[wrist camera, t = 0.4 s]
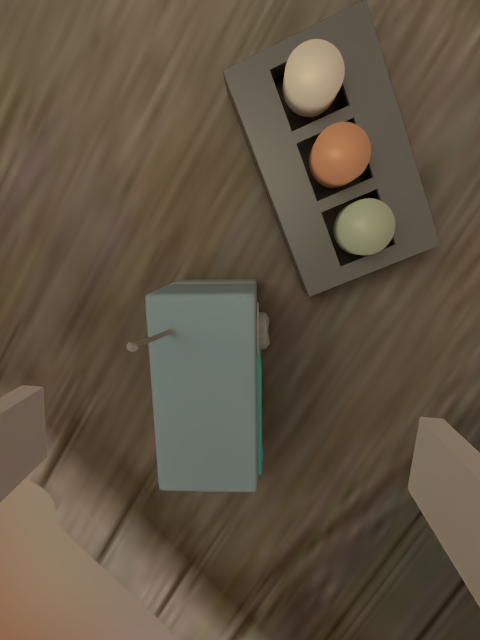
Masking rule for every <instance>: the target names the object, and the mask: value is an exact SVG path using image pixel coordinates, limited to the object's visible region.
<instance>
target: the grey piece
mask: <svg viewBox="0 0 480 640" xmlns="http://www.w3.org/2000/svg"><path fill="white" fill-rule="evenodd" d="M311 39H322V40H326V41H328V42H330V43H332V44H333V45H334V46H335V47H336V48H337V49H338V50H339V52H340V53H341V55H342V58H343V61H344V66H345V74H344V80H343V83H342V85H341V86H342V89H343V92H344V95H345V98H346V101H347V104H348V106H346V107H344V108H342V109H340V110H338V111H336V112H333V113H331V114H329V115H327V116H325V117H323V118H320V119H318V120H316V121H314V122H312V123H310V124H307V125H305V126H303V127H301V128H299V129H297V130H294V131H292V130H291V128H290V125H289V122H288V119H287V116H286V114H285V111H284V108H283V105H282V103H281V100H280V97H279V94H278V92H277V89H276V86H275V83H274V80H273V79H274V78H276V77H279V76H281V75H283V74H284V73H285V67H286V63H287V60H288V58H289V56H290V54H291V53H292V52H293V50H294V49H295V48H296V47H297V46H298V45H300V44H301V43H303V42H305V41H307V40H311ZM223 75H224V80H225V85H226V89H227V93H228V95H229V98H230V100H231V103H232V106H233V108H234V111H235V113H236V116H237V119H238V121H239V124H240V126H241V129H242V132H243V134H244V137H245V140H246V142H247V145H248V147H249V150H250V153H251V155H252V158H253V160H254V163H255V166H256V168H257V171H258V173H259V176H260V179H261V181H262V184H263V186H264V189H265V192H266V194H267V197H268V199H269V202H270V205H271V207H272V210H273V212H274V215H275V218H276V220H277V223H278V225H279V228H280V231H281V233H282V236H283V238H284V241H285V244H286V246H287V249H288V251H289V254H290V257H291V259H292V262H293V264H294V267H295V270H296V272H297V275H298V277H299V280H300V283H301V285H302V288H303V290H304V292H305V293H306V294H307V295H308V296H309V297H310V296H313V295H316V294H318V293H321V292H323V291H326V290H328V289H331V288H333V287H336V286H338V285H341V284H343V283H346V282H348V281H351V280H353V279H356V278H358V277H361V276H363V275H366V274H368V273H371V272H374V271H376V270H379V269H381V268H384V267H386V266H389V265H391V264H394V263H396V262H399V261H401V260H404V259H406V258H409V257H411V256H414V255H416V254H419V253H421V252H424V251H427V250H429V249H432V248H434V247H437V246H439V245H441V244H440V241H439V237H438V234H437V231H436V228H435V224H434V221H433V218H432V215H431V211H430V208H429V205H428V201H427V198H426V195H425V192H424V188H423V185H422V182H421V179H420V175H419V172H418V169H417V165H416V162H415V159H414V156H413V152H412V149H411V146H410V143H409V139H408V136H407V133H406V130H405V126H404V123H403V120H402V116H401V113H400V110H399V107H398V103H397V100H396V97H395V94H394V90H393V87H392V84H391V80H390V77H389V74H388V71H387V67H386V64H385V61H384V58H383V54H382V51H381V48H380V44H379V41H378V38H377V35H376V31H375V28H374V25H373V22H372V18H371V15H370V12H369V8H368V5H367V2H366V0H363V1H361V2H359V3H357V4H355V5H353V6H351V7H349V8H347V9H345V10H343V11H341V12H339V13H337V14H335V15H333V16H331V17H329V18H327V19H325V20H323V21H321V22H319V23H317V24H315V25H313V26H311V27H309V28H307V29H305V30H303V31H301V32H299V33H297V34H295V35H293V36H291V37H289V38H287V39H285V40H283V41H281V42H279V43H276V44H274V45H272V46H270V47H268V48H266V49H264V50H262V51H260V52H258V53H256V54H254V55H252V56H250V57H248V58H246V59H244V60H242V61H240V62H238V63H236V64H234V65H232V66H230V67H228V68H226V69H224V70H223ZM350 120H353V123H354V124H356V125H358V126H359V127H361V128H362V129H363V130H364V131H365V133H366V134H367V136H368V138H369V140H370V144H371V156H370V160H369V163H368V168H369V171H370V174H371V177H372V178H370V179H368V180H366V181H363V182H361V183H359V184H356V185H354V186H352V187H349V188H347V189H345V190H342V191H340V192H338V193H335V194H333V195H331V196H329V197H326V198H324V199H322V200H319V201H317V200H316V197H315V194H314V191H313V189H312V186H311V183H310V180H309V177H308V175H307V172H306V169H305V166H304V164H303V161H302V158H301V155H300V153H299V150H298V147H297V144H300V143H302V142H304V141H306V140H308V139H310V138H313V137H315V136H317V135H319V134H320V133H321V132H322V131H323V130H324V129H325V128H327V127H328V126H330V125H332V124H334V123H337V122H348V121H350ZM373 190H376V192H377V195H378V198H379V200H380V201H382V202H384V203H385V204H386V205H387V206H388V207H389V208H390V209H391V211H392V212H393V215H394V218H395V232H394V235H393V237H392V241H393V245H391V246H389V247H386V248H384V249H382V250H381V251H379V252H377V253H375V254H371V255H366V256H364V257H361V258H359V259H356V260H354V261H351V262H349V263H346V264H344V265H341V266H340V263H339V261H338V258H337V255H336V252H335V250H334V247H333V244H332V241H331V238H330V236H329V233H328V230H327V227H326V225H325V222H324V219H323V216H322V214H321V213H322V212H324V211H326V210H329V209H331V208H333V207H336V206H338V205H340V204H343V203H345V202H347V201H350V200H352V199H354V198H357V197H359V196H361V195H364V194H366V193H368V192H371V191H373Z"/></svg>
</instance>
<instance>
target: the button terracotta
mask: <svg viewBox="0 0 480 640" xmlns="http://www.w3.org/2000/svg"><path fill="white" fill-rule="evenodd" d="M370 156H371V144H370V140H369V138H368V136H367V134H366V133H365V131H364V130H363V129H362V128H361V127H359V126H358V125H356V124H354V123H351V122H337V123H334V124H332V125H330V126H328V127H327V128H325V129H324V130H323V131H322V132H321V133H320V135H319V136H318V138H317V140H316V141H315V143H314V145H313V147H312V149H311V151H310V155H309V169H310V172H311V174H312V176H313V178H314V179H315V180H316V181H317V182H318V183H319V184H321V185H323V186H325V187H328V188H339V187H342V186H345V185H347V184H348V183H350V182H351V181H353V180H354V179H356V178H357V177H358V176H360V175H361V174H362V173H363V171H364V170H365V169H366V167H367V165H368V163H369V160H370Z"/></svg>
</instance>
